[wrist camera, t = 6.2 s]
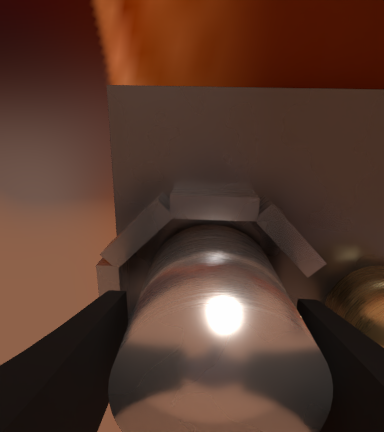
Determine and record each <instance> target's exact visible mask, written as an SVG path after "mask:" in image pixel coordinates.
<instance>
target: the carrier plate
mask: <svg viewBox="0 0 384 432" xmlns="http://www.w3.org/2000/svg"><path fill="white" fill-rule="evenodd" d="M107 96H108V111H109V127H110V141H111V155H112V156H111V157H112V171H113V186H114V202H115V216H116V230H117V231H116V232H117V237H116V238H115V239H114V240H112V242H111V243H110V244H109V245H108V246H107V247H106V248H105V249H104V251H103V252H102V253H101V254H100V255H101V256H102V257H103V258H102V259H101V260H100V261H99V263H98V264H97V265H96V268H97V279H98V290H99V297H100V296H101V295H103V294H104V293H105V292H107V291H108V290H116V291H126V293H127V310H128V324H129V322H130V319H131V316H132V314H133V311H134V308H135V306H136V303H137V300H138V298H139V295H140V292H141V290H142V287H143V284H144V282H145V279H146V276H147V274H148V271H149V268H150V266H151V263H152V261H153V258H154V256H155V255H156V253H157V251H158V250H159V249H160V247H161V246H162V245H163V244H164V243H165V242H166V241H167V240H168V239H169V238H171V237H172V236H173V235H175V234H177V233H179V232H180V231H182V230H185V229H188V228H190V227H194V226H198V225H207V224H211V225H223V226H227V227H231V228H234V229H236V230H239V231H241V232H243V233H245V234H246V235H248V236H249V237H251V238H252V239H253V240H254V241H255V242H256V243H257V244H258V245H259V246H260V247H261V248H262V250H263V251H264V253H265V254H266V256H267V258H268V260H269V261H270V263H271V265H272V267H273V268H274V270H275V272H276V274H277V275H278V277H279V279H280V281H281V282H282V284H283V286H284V288H285V289H286V291H287V293H288V295H289V296H290V298H291V300H292V302H293V303H294V305H295V307H297V301H298V299H316V300H318V301H320V302H321V303H323V304H324V305H326V306H327V307H329V308H330V309H331V310H333V311H334V312H335V313H337V314H338V315H339V316H341V317H342V318H343V319H345V320H346V321H348V322H349V323H350V324H352V325H353V326H354V327H356V328H357V329H358V330H360V331H361V332H362V333H364V334H365V335H367V336H368V337H369V338H371V339H372V340H373V341H375V342H376V343H378V344H379V345H380V346H382V347H383V348H384V89H323V88H259V87H195V86H130V85H107Z"/></svg>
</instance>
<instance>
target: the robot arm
mask: <svg viewBox="0 0 384 432" xmlns="http://www.w3.org/2000/svg"><path fill="white" fill-rule="evenodd" d="M296 309H297V310H298V312H299V314H300V316H301V317H302V319H303V321H304V323H305V324H306V326H307V328H308V330H309V331H310V333H311V335H312V337H313V338H314V340H315V342H316V344H317V345H318V347H319V349H320V351H321V352H322V354H323V356H324V358H325V360H326V362H327V364H328V367H329V370H330V373H331V376H332V383H333V399H332V404H331V408H330V411H329V414H328V417H327V419H326V421H325V423H324V425H323V426H322V428H321V430H320V431H319V432H384V348H383V347H382V346H380V345H379V344H378V343H376V342H375V341H373V340H372V339H371V338H369V337H368V336H367V335H365V334H364V333H362V332H361V331H360V330H358V329H357V328H356V327H354V326H353V325H352V324H350V323H349V322H348V321H346V320H345V319H343V318H342V317H341V316H339V315H338V314H337V313H335V312H334V311H333V310H331V309H330V308H329V307H327V306H326V305H324V304H323V303H321V302H320V301H318V300H316V299H298V301H297V307H296ZM127 327H128V310H127V293H126V291H116V290H108V291H107V292H105V293H104V294H103V295H101V296H100V297H99V298H97V299H96V300H95V301H93V302H92V303H91V304H90V305H88V306H87V307H86V308H84V309H83V310H81V311H80V312H79V313H77V314H76V315H75V316H73V317H72V318H71V319H69V320H68V321H67V322H65V323H64V324H63V325H61V326H60V327H58V328H57V329H56V330H54V331H53V332H51V333H50V334H48V335H47V336H45V337H44V338H42V339H41V340H39V341H38V342H36V343H35V344H33V345H32V346H31V347H29V348H28V349H26V350H25V351H23V352H22V353H20V354H18V355H17V356H15V357H13V358H12V359H10V360H9V361H7V362H5V363H4V364H2V365H0V432H97V431H98V428H99V426H100V423H101V421H102V418H103V415H104V413H105V411H106V408H107V406H108V403H109V396H108V385H109V378H110V374H111V369H112V367H113V364H114V361H115V359H116V356H117V353H118V351H119V348H120V346H121V343H122V340H123V338H124V335H125V332H126V330H127Z"/></svg>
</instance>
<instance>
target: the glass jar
mask: <svg viewBox="0 0 384 432" xmlns="http://www.w3.org/2000/svg"><path fill="white" fill-rule="evenodd" d="M108 396H109V404H110V407H111V411H112V414H113V416H114V418H115V421H116V422H117V425H118V426H119V428H120V429H121V431H122V432H319V431H320V430H321V428H322V426H323V425H324V423H325V421H326V419H327V417H328V414H329V411H330V408H331V404H332V399H333V383H332V376H331V373H330V370H329V367H328V364H327V362H326V360H325V358H324V356H323V354H322V352H321V351H320V349H319V347H318V345H317V344H316V342H315V340H314V338H313V337H312V335H311V333H310V331H309V330H308V328H307V326H306V324H305V323H304V321H303V319H302V317H301V316H300V314H299V312H298V310H297V309H296V307H295V305H294V303H293V302H292V300H291V298H290V296H289V295H288V293H287V291H286V289H285V288H284V286H283V284H282V282H281V281H280V279H279V277H278V275H277V274H276V272H275V270H274V268H273V267H272V265H271V263H270V261H269V260H268V258H267V256H266V254H265V253H264V251H263V250H262V248H261V247H260V246H259V245H258V244H257V243H256V242H255V241H254V240H253V239H252V238H251V237H249V236H248V235H246V234H245V233H243V232H241V231H239V230H236V229H234V228H231V227H227V226H223V225H211V224H207V225H198V226H194V227H190V228H188V229H185V230H182V231H180V232H179V233H177V234H175V235H173V236H172V237H171V238H169V239H168V240H167V241H166V242H165V243H164V244H163V245H162V246H161V247H160V249H159V250H158V251H157V253H156V255H155V256H154V258H153V261H152V263H151V266H150V268H149V271H148V274H147V276H146V279H145V282H144V284H143V287H142V290H141V292H140V295H139V298H138V300H137V303H136V306H135V308H134V311H133V314H132V316H131V319H130V322H129V324H128V327H127V330H126V332H125V335H124V338H123V340H122V343H121V346H120V348H119V351H118V353H117V356H116V359H115V361H114V364H113V367H112V369H111V374H110V378H109V385H108Z"/></svg>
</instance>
